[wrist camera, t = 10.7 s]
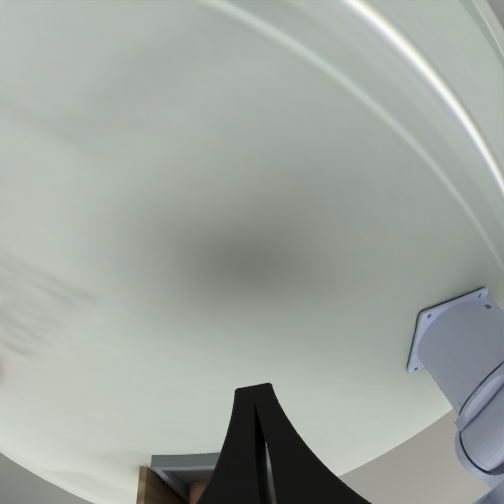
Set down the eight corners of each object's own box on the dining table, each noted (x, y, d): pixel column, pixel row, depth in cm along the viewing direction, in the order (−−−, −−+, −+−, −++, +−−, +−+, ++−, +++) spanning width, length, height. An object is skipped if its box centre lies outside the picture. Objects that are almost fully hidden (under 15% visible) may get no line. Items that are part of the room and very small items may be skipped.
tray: (265, 442, 30) (268, 458, 27) (276, 488, 37) (279, 499, 35) (152, 451, 29) (150, 466, 27) (193, 495, 36) (193, 507, 34)
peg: (207, 479, 32) (211, 505, 28) (220, 487, 33) (224, 511, 29) (183, 483, 32) (185, 509, 28) (197, 491, 33) (199, 515, 29)
